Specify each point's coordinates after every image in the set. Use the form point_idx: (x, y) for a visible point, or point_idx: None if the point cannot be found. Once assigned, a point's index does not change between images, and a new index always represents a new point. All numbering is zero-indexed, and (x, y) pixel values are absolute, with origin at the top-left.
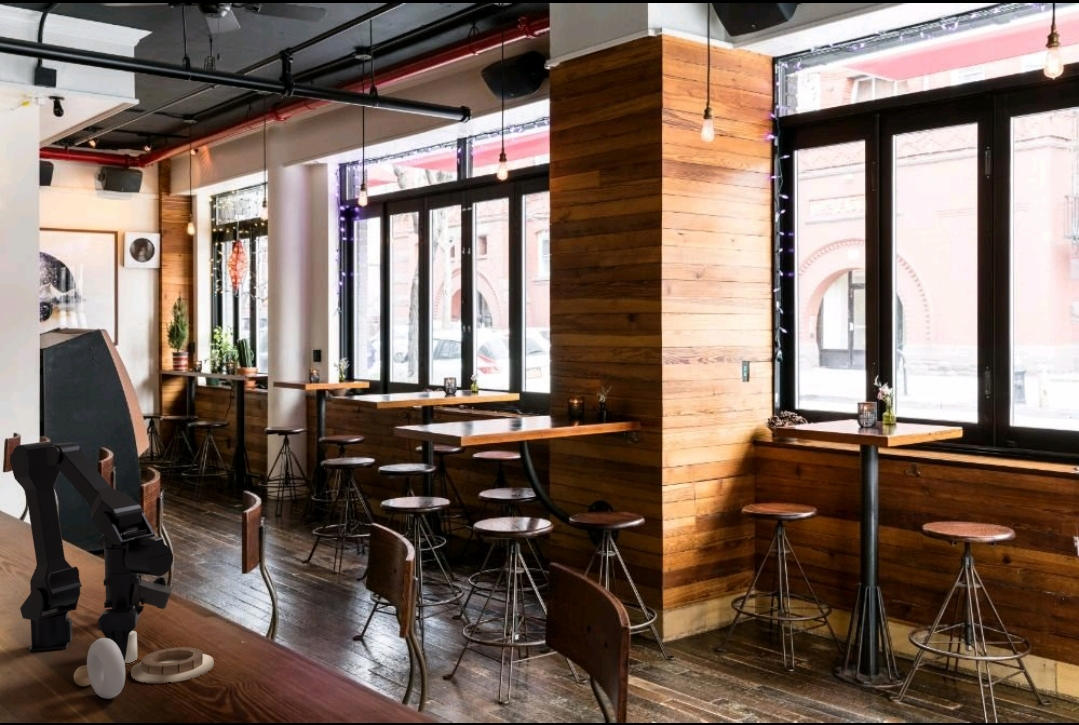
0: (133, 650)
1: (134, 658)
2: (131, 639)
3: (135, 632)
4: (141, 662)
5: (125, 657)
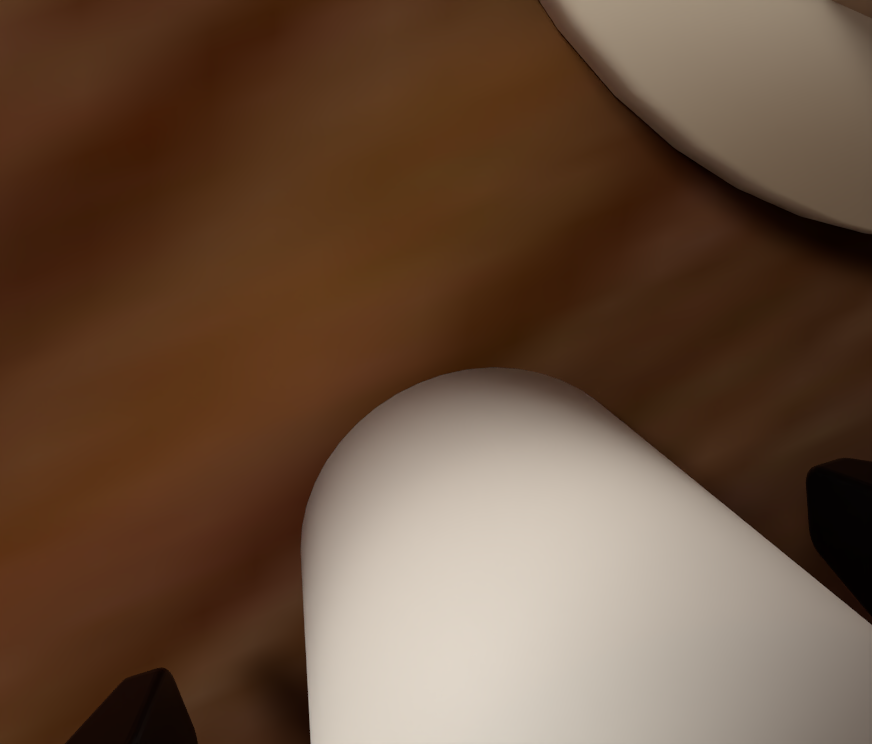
0: (646, 452)
1: (572, 392)
2: (831, 598)
3: (558, 705)
4: (860, 176)
5: (866, 465)
